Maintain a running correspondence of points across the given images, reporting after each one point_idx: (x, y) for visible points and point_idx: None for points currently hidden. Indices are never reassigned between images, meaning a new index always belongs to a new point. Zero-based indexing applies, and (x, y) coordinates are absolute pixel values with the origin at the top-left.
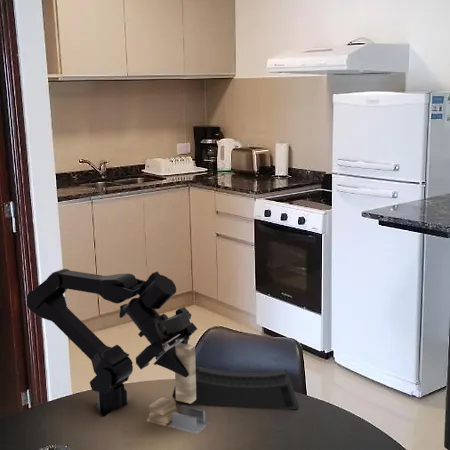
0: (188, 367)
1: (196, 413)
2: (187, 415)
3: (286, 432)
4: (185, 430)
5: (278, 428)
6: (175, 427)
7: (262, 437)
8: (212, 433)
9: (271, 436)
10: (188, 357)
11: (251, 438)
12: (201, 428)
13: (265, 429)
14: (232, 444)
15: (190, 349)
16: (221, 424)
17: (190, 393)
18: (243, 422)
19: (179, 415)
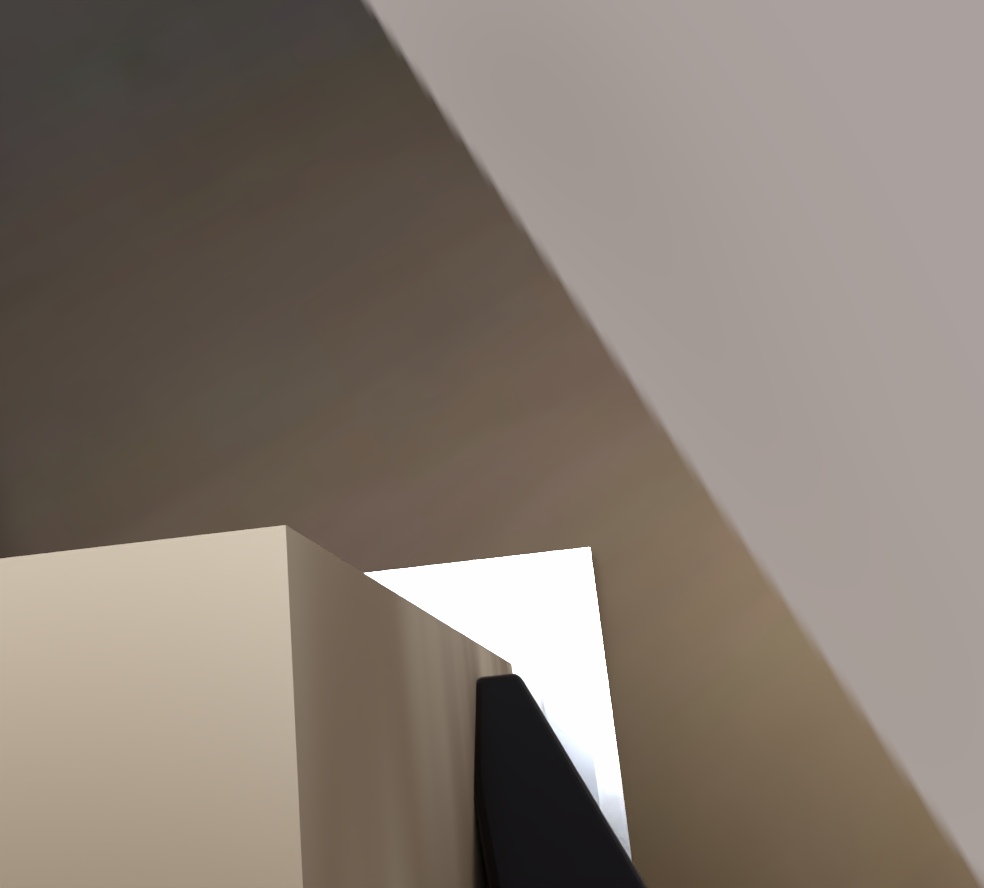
0: (456, 691)
1: None
2: (546, 705)
3: (141, 15)
4: (605, 690)
5: (110, 88)
6: (613, 825)
7: (297, 115)
8: (448, 485)
9: (249, 70)
10: (405, 675)
11: (353, 173)
12: (488, 572)
13: (170, 158)
14: (516, 243)
15: (186, 555)
16: (265, 509)
17: (502, 664)
18: (143, 365)
19: (597, 794)
